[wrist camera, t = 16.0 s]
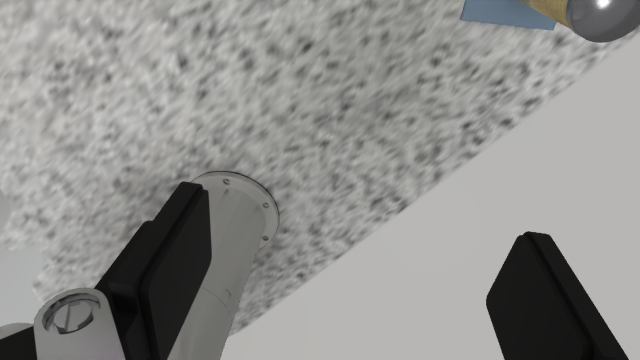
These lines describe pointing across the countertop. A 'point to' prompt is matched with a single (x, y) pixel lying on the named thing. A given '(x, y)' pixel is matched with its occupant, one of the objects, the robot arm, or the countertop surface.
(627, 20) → the spice shaker
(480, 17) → the rubber mat
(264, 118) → the countertop surface
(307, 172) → the countertop surface
